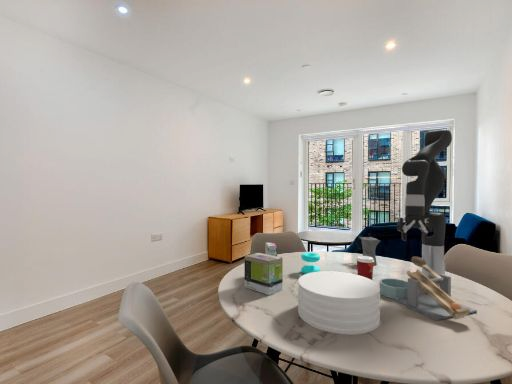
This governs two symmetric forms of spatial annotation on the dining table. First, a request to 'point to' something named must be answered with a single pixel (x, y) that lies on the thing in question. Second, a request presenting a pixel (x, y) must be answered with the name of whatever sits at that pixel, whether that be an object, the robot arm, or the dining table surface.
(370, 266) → the paper cup
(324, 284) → the plate stack
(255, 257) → the tea box
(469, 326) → the dining table surface
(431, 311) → the stand
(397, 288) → the bowl
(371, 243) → the coffeepot
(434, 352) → the dining table surface
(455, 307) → the ball
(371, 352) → the dining table surface
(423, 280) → the lever
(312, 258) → the donuts
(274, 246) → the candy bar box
